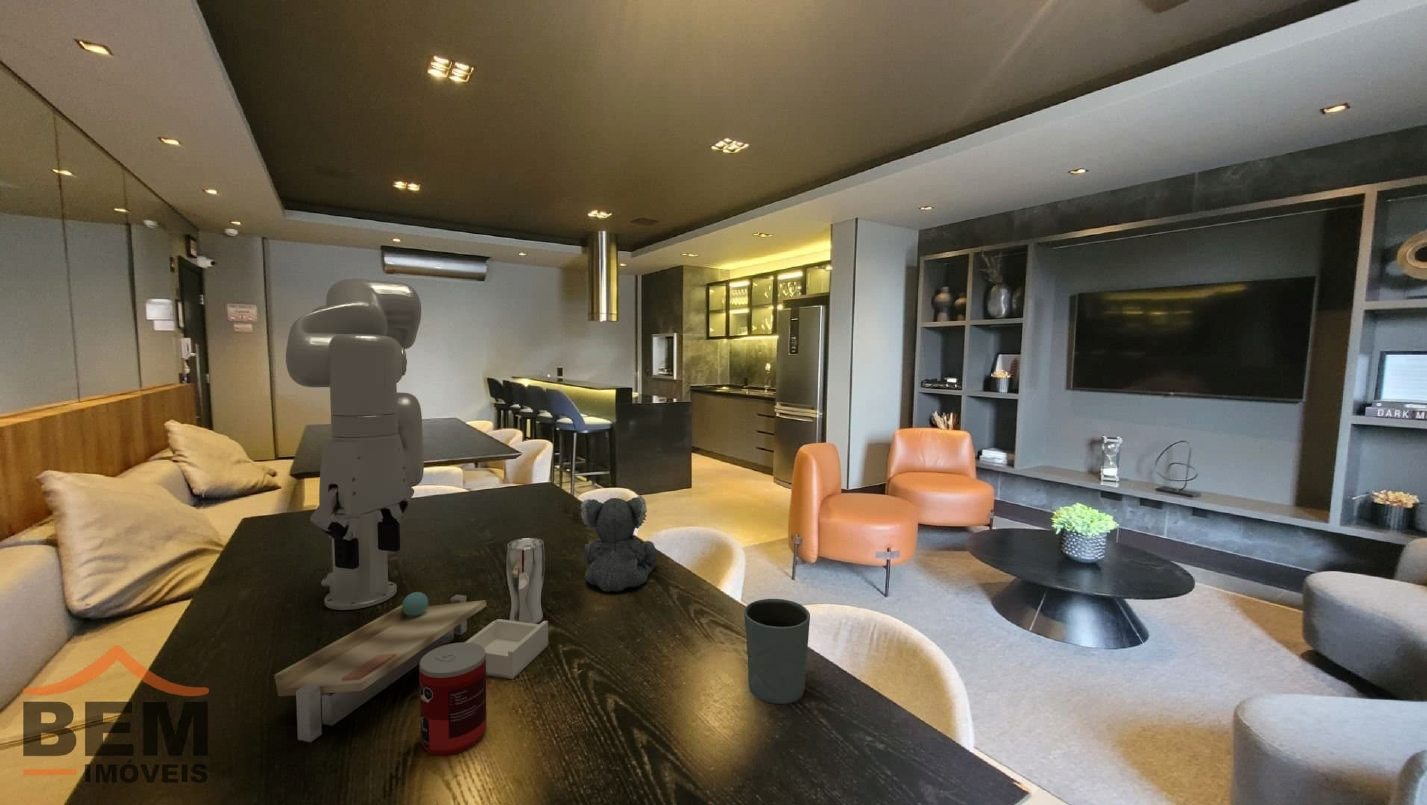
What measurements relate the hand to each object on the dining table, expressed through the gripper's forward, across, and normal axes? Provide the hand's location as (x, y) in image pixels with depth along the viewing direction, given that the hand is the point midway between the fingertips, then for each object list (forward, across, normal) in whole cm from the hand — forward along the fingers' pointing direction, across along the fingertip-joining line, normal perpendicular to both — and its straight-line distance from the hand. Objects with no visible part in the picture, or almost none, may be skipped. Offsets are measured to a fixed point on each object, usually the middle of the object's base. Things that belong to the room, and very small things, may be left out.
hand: (369, 557), depth 74 cm
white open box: (+23, -18, +8) cm, 30 cm away
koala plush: (+23, -54, +14) cm, 60 cm away
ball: (+15, -18, -9) cm, 25 cm away
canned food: (+23, +1, +14) cm, 27 cm away
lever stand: (+23, -9, -4) cm, 25 cm away
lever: (+18, -9, -4) cm, 20 cm away
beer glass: (+23, -31, +4) cm, 39 cm away
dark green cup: (+23, -21, +54) cm, 62 cm away
